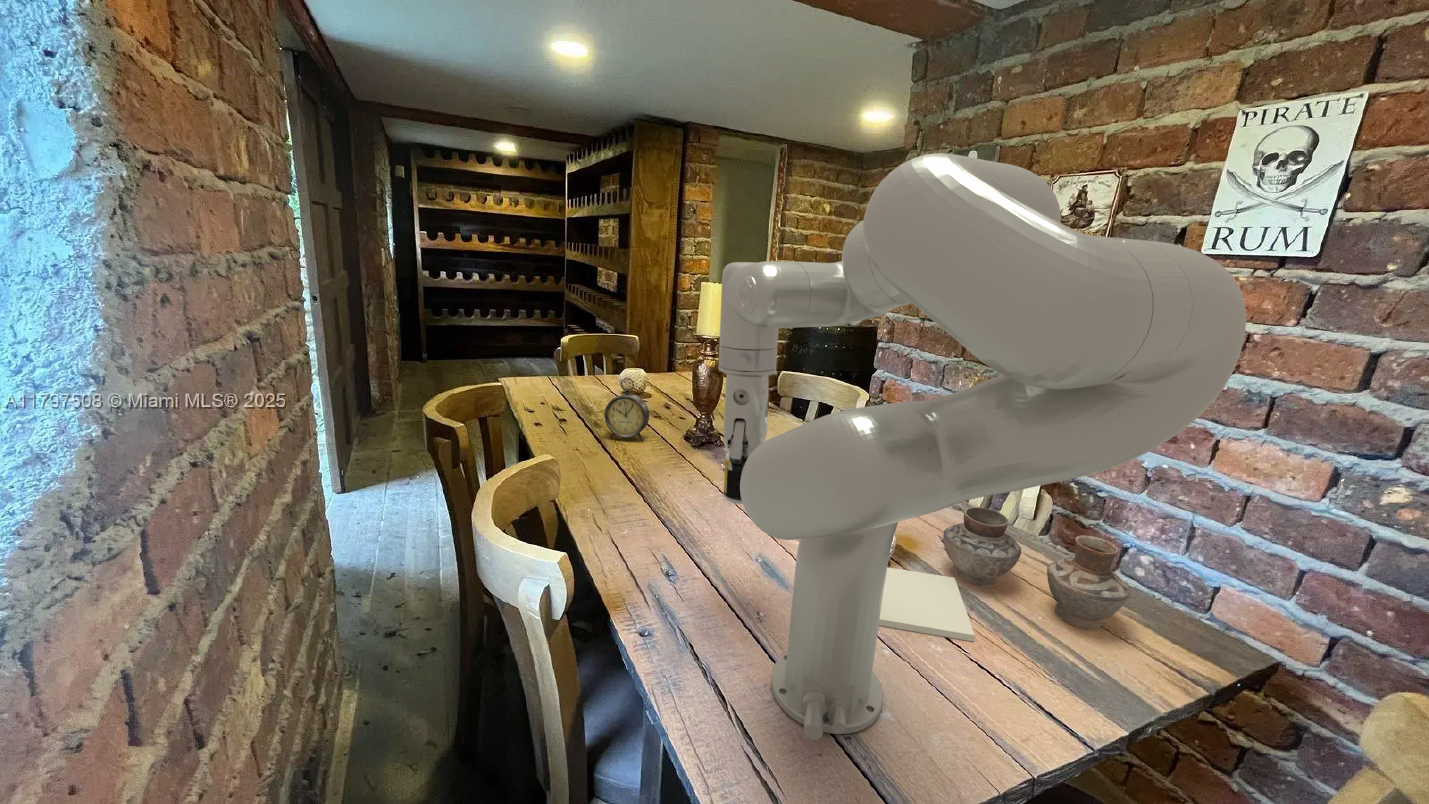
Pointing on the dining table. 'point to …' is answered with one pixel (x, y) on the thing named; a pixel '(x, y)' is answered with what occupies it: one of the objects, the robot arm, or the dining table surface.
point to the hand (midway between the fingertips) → (741, 488)
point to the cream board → (924, 605)
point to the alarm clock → (626, 415)
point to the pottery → (1073, 582)
